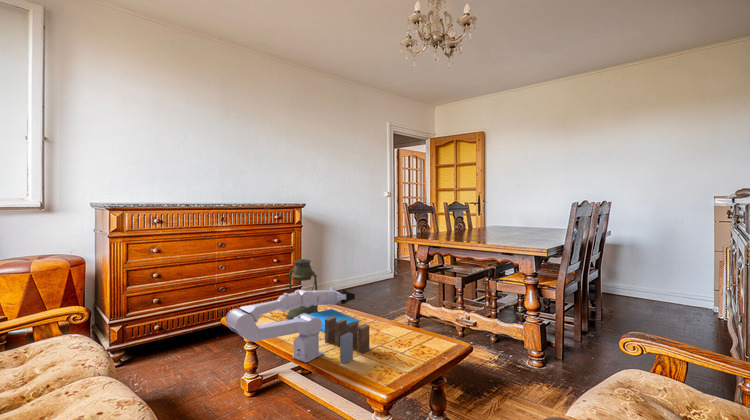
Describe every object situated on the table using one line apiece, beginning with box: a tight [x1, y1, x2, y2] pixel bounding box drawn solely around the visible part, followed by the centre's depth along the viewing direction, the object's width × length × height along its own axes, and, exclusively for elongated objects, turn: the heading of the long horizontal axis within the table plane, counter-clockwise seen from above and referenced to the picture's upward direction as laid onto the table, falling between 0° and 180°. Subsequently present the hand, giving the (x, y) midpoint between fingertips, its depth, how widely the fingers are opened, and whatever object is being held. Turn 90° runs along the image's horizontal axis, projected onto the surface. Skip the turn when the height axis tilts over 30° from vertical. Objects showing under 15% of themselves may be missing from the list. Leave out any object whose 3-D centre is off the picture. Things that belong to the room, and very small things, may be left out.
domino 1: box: [324, 316, 336, 344], centre depth 153 cm, size 2×5×10 cm, turn 145°
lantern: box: [282, 258, 319, 320], centre depth 188 cm, size 21×18×30 cm
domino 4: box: [339, 332, 354, 365], centre depth 133 cm, size 2×5×10 cm, turn 145°
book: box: [308, 308, 360, 334], centre depth 174 cm, size 17×4×25 cm
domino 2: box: [334, 319, 347, 348], centre depth 149 cm, size 2×5×10 cm, turn 145°
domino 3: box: [346, 321, 358, 349], centre depth 146 cm, size 2×5×10 cm, turn 145°
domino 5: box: [357, 323, 370, 354], centre depth 142 cm, size 2×5×10 cm, turn 145°
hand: (348, 296), depth 152 cm, fingers open, 7 cm apart
